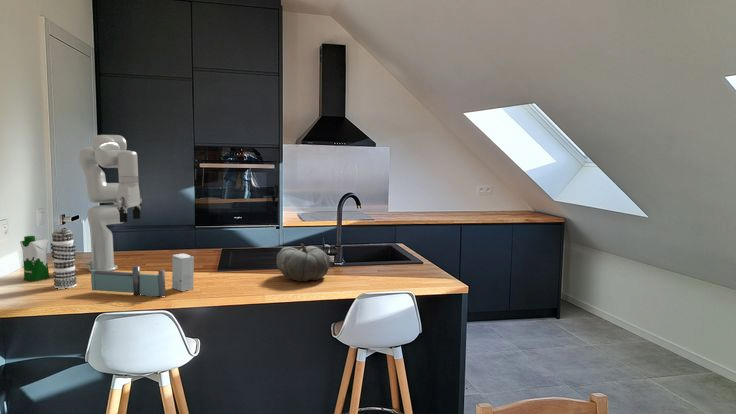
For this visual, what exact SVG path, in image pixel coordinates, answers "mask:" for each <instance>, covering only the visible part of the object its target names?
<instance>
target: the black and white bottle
mask: <svg viewBox="0 0 736 414" xmlns="http://www.w3.org/2000/svg"><path fill="white" fill-rule="evenodd" d="M73 234H74V232H73V231H72V230H71V229H69V228H61V229H60V228H59V229H58V228H57V229H55V230H54V231H53V233H51V235H52V236H51V238H52V241H51V243H50V244H49V245H50V250H52V251H51V258H52V263H53V266H54V267H53V274H54V275H53V278H54V279H53V282H54V283H53V285H54V289H55V288H58V289H57V290H66V289H65V288H69V289H72V288H71V287H73V288H75V286H76V287H77V286H78V284H77V282H78V281H77V273H76V272H77V269H76V265H75V260H76V257H75V256H76V253H74V252H76V251H77V249H75V248H76V245H74V243H75V241H74V237H73V236H74V235H73Z"/></svg>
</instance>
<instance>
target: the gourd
mask: <svg viewBox="0 0 736 414" xmlns="http://www.w3.org/2000/svg"><path fill="white" fill-rule="evenodd" d="M300 246H301V248H300V249H298V248H294V247H292V246H287V247H286V246H285V247H283V248H281V249H280V251H279V252H278V253H277V255H276V267H277V270H279V272H280V273H281V274H282V275H283V276H285V277H286V278H288V279H290V280H294V281H297V282H307V281H309V280H311V281H317V280H321V279H322V278H323V277H325V276H326V275H327V273H328V271H329V268H330V265H331V263H330V262H331V260H330V258H329V255H328V254H327V253H326V252H325V251H324V250H323V249H321V248H320V247H318V246H313V245H309V246H306V247H305V245H304V243H300Z"/></svg>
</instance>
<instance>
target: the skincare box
mask: <svg viewBox="0 0 736 414" xmlns="http://www.w3.org/2000/svg"><path fill="white" fill-rule="evenodd" d="M171 263H172V264H171V265H172V269H171V271H172V273H171V275H172V277H171V283H172V284H171V285H172V286H171V288H172V289H173V288H174V289H175V290H176V289H177V291H180V292H181V291H183V292H187V291H186V290H188V291H191V289H192V290H194V277H195V275H194V273H195V271H194V269H195V267H194V265H195V264H194V263H195V257H194V256H192V255H190V254H187V253H184V252H183V253H178V254H177V253H176V254H172V262H171Z"/></svg>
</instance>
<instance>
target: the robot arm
mask: <svg viewBox="0 0 736 414" xmlns="http://www.w3.org/2000/svg"><path fill="white" fill-rule="evenodd" d="M90 144H91V146H85V147H82V148H80V150H79V151H78V162H79V165H80V167H81V170H82V171H83V173H84V176H85V183H86V190H87V191H86V192H87V196H88V199H89V202H91V203H94V204H102V203H103V205H95V206H92V207H89V208H88V210H87V211H86V217H87V221H88V227H89V233H90V234H89V235H90V249H91V250H90V251H91V260H89V259H88V260H86V262H85V265H86V266H89V267H88V271H89V272H90V273H91V271H92V270H97V271H113V272H114V271H115V270H117V269H118V265H117V264H115V260H114V259H115V257H114V238H113V237H114V236H113V232H112V231H111V229H110V228H108V227H107V226H109V225H118V224H124V223H128V222H129V221H128V218H129V217H128V215H129V214H128V209H129V208H132V218H133V219H134V220H140V219H141V217H142V216H141V214H142V213H141V209H142V203H143V199H142V197H141V193H140V186H139V184H140V183H139V166H138V153H137V152H136V151H134V150H133V151H132V150H129V149H128V150H127V148H128V147H127V146H128V145H127V140H126V139H125V137H124V136H122V135H119V134H97V135H95V136H94V137H93V138H92V140H91V142H90ZM102 168H106V169H111V168H112V169H113V168H114V169H117V170H118V182H107V179H106V174H105V171H103V169H102ZM104 203H113V204H108V205H107V204H104Z"/></svg>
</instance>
